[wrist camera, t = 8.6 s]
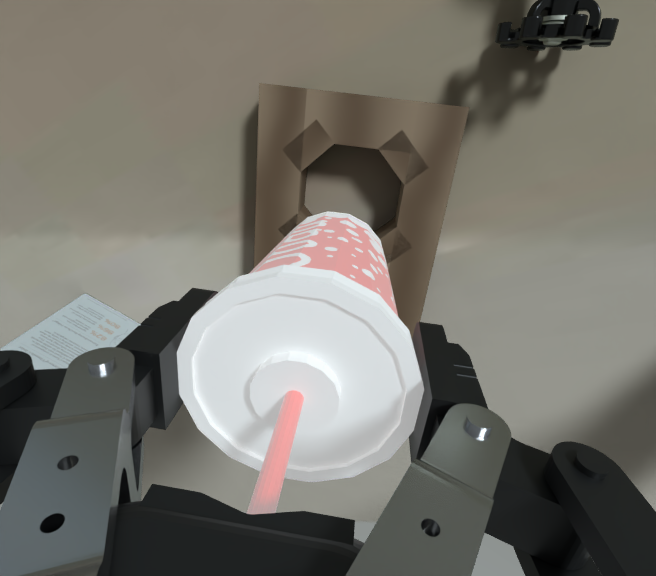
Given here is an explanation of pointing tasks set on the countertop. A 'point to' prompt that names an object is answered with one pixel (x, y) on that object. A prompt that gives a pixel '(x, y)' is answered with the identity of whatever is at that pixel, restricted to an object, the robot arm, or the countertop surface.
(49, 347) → the small box
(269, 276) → the beverage cup
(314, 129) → the socket plate
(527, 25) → the valve
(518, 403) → the countertop surface
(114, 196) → the countertop surface
